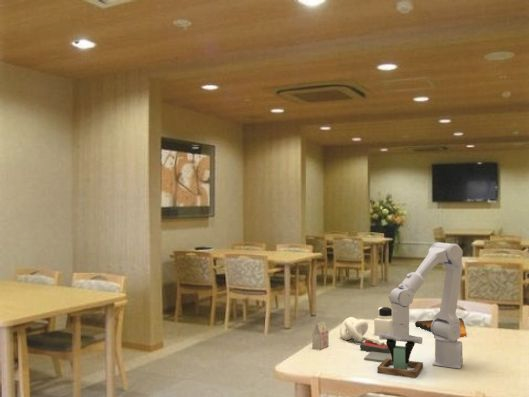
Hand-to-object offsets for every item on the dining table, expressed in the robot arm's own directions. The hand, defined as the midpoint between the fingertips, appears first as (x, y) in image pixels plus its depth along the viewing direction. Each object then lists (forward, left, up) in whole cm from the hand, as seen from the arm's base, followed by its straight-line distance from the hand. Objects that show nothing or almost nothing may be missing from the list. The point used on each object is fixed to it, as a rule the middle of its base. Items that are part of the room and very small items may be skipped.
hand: (400, 362), depth 194 cm
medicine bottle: (+18, -51, -3) cm, 54 cm away
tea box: (+36, -16, -3) cm, 39 cm away
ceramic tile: (+10, -12, -3) cm, 16 cm away
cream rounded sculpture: (+27, -36, -3) cm, 45 cm away
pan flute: (-8, -74, -4) cm, 75 cm away
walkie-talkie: (+17, -24, -3) cm, 29 cm away
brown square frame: (0, 0, -3) cm, 3 cm away
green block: (0, 0, -3) cm, 3 cm away
